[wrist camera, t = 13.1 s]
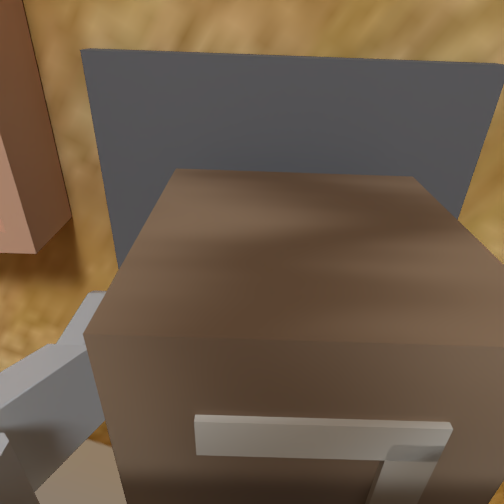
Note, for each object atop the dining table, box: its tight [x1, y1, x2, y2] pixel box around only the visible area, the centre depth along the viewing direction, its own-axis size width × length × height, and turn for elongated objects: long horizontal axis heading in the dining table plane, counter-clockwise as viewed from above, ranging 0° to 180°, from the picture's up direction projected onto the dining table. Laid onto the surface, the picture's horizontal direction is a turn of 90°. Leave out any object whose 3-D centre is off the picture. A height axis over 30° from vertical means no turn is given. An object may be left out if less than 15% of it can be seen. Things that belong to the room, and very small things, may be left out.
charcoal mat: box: [80, 48, 504, 269], centre depth 12 cm, size 10×10×1 cm
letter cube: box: [83, 169, 504, 504], centre depth 8 cm, size 6×6×6 cm
